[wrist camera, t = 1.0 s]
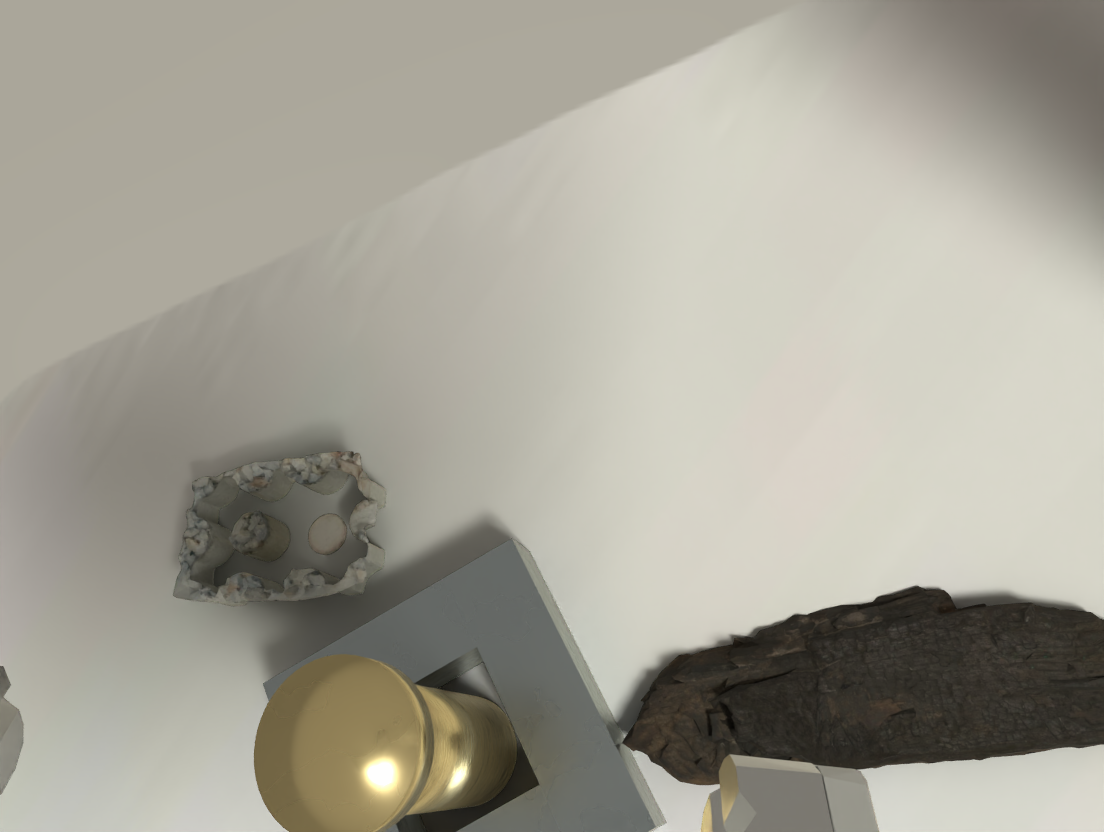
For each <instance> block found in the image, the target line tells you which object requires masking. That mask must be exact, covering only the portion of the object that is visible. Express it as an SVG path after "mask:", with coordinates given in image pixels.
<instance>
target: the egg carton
mask: <svg viewBox="0 0 1104 832" xmlns="http://www.w3.org/2000/svg"><path fill="white" fill-rule="evenodd" d="M349 474H351V475H353V476H354V477H355V478H356V480H357V484H358V489H359V490H360V491H361V493H362V494H363V495H364V496H365V497H366V498H367V499H364V500H362V501H361V502H360V503H358V504H357V505H356V506H355V508H354V510H353V511H352V514H351V516H350V520H349V526H350V529H351V532H352V534H353V535H354V537H356V538H357V539H359V540H360V541H362V542H364V543H366V544H367V546H368V550H367V554H366V556H365V558H362V557H360V558H359V559H358V560H357V561H355V562H352V563H351V564H350V565H349V566H348V568H347V572H346V573H345V574H344V577H343V578H342V580H341V581H340V580H339V579H338V578H336V577H334V576H331V575H329V574H326V573H324V572H321V571H319V570H316V569H313V568H307V569H301V570H297V569H292V570H291V571H290V574H289V575H288V576H287V577H286V578H285V579H284V581H283V584H284V589H283V587H282V586H281V585H280V584H279V583H277V582H274V581H271V580H267V579H264V578H261V577H258V576H256V575H253V574H250V573H246V572H239V573H237V574H234V575H232V576H231V577H228V578H227V581H226V583H225V585H222V586H219V587H217V586H214V584H213V581H214V573H215V569H216V567H218V566H220V565H222V564H224V563H225V562H226V561H227V560H228V559H229V558H230V557H231V555H232V554H233V551H234V549H235V550H236V551H238V552H240V553H242V554H244V555H248V556H250V557H253V558H256V559H259V560H262V561H267V562H269V561H274V560H276V559H278V558H279V557H280V556H281V555H282V554H283V553H284V552H285V551H286V550H287V548H288V546H289V542H290V533H289V529H288V527H287V526H286V525H285V524H284V523H282V522H280V521H278V520H276V519H274V518H272V517H270V516H268V515H265V514H263V513H262V512H261V511H255V512H248V513H245V514H243V515H242V516H241V517H240V518H239V519H238V521H237V522H236V523H235V525H234V528H233V531H232V532H231V531H230V530H229V529H227V528H225V527H223V526H220V525H218V520H219V510H220V509H222V508H224V507H225V506H227V505H229V504H230V503H232V502H233V501H234V500H235V498H236V496H237V495H238V492H239V489H242V490H244V491H246V492H248V493H250V494H252V495H254V496H256V497H258V498H261V499H263V500H265V501H270V502H273V501H278V500H280V499H282V498H283V497H285V496H286V495H287V494H288V492H289V491H290V489H291V487H292V484H293V483H294V482H297V483H299V484H302V485H304V486H306V487H308V488H310V489H311V490H313V491H316V492H318V493H321V494H323V495H329V494H333V493H335V492H337V491H339V490H340V489H341V488H342V487H343V486H344V484H345V483H346V481H347V479H348V476H349ZM192 489H193V491H194V493H195V497H194V503H193V506H192V508H191V509H188V510H187V512H186V517H187V529H186V531H185V532H184V535H183V546H182V549H181V552H180V555H179V557H178V558H179V560H180V565H181V571H180V573H179V575H178V577H177V580H176V584H175V588H174V593H173V596H175V597H176V598H181V599H187V600H193V601H204V602H214V603H221V604H225V605H230V606H242V605H246V604H247V602H248V601H300V600H306V599H311V598H317V597H323V596H329V595H332V594H335V593H338V592H339V593H342V594H344V595H359V594H362V593H363V592H364V589H365V585H366V583H367V581H368V579H369V578H370V576H371V575H373V574H374V573H375V572H377V571H379V570H381V569H382V568H383V567H384V558H385V551H384V549H381V548H378V547H377V546H375V545H373V544H371V543H369V541H368V537H367V536H366V529H369V528H371V527H373V526H375V522H376V515H377V510H379V509H381V508H383V507H385V504H386V489H384V488H383V487H381V486H380V485H378V484H377V483H375V482H373V481H371V480H370V479H368V476H367V474H366V473H365V472H364V471H363V470H362V466H361V456H360V454H359V453H356V454H353V452H350V451H348V452H330V453H318V454H312V455H307V456H306V458H286V459H283V460H279V461H269V462H254V463H251V464H248V465H245V466H241V467H239V468H236V469H234V470H232V471H228V472H224V473H222V474H221V475H219V476H217V477H209V476H207V477H202V478H199V479H198V480H195V481H194V482H193V484H192ZM346 535H347V528H346V525H345V523H344V521H343V519H342V518H341V517H339V516H338V515H336V514H327V515H323V516H320V517H319V518H318V519H317V520H315V521H314V523H313V524H312V526H311V528H310V530H309V533H308V540H309V544H310V546H311V548H312V549H313V550H314V551H315V552H317V553H320V554H323V555H328V554H331V553H333V552H335V551H337V550H338V549H339V548H340V547H341V546H342V544H343V543H344V541H345V539H346Z"/></svg>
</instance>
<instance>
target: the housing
mask: <svg viewBox="0 0 1104 832" xmlns="http://www.w3.org/2000/svg"><path fill="white" fill-rule="evenodd" d="M338 654H349V655H357V656H361V657H366V658H370V659H374V660H378V661H382V662H385V663H387V664H390V665H392V666H394V667H395V668H397V669H399V670H400V671H402V672H403V673H404V674H405V675H406V676H408V677H409V678H410V679H411V681H412V682H413V683H414V684H415V685H420V686H425V687H431V688H436V689H437V688H438V687H440V686H442V685H444V684H445V683H447V682H449V681H451V680H452V679H454V678H456V677H458V676H459V675H461V674H463V673H465V672H466V671H468V670H470V669H471V668H473V667H475V666H477V665H478V664H480V663H482V662H484V664H485V666H486V668H487V670H488V672H489V675H490V677H491V679H492V681H493V683H494V686H495V688H496V690H497V692H498V694H499V697H500V699H501V701H502V703H503V705H504V707H505V710H506V712H507V714H508V716H509V718H510V721H511V723H512V725H513V727H514V729H515V732H516V734H517V736H518V738H519V740H520V743H521V745H522V747H523V749H524V751H525V754H526V756H527V758H528V760H529V762H530V765H531V767H532V769H533V771H534V773H535V776H536V778H537V780H538V782H539V784H540V785H538V786H536V787H534V788H533V789H531V790H529V791H527V792H525V793H524V794H522V795H520V796H518V797H517V798H515V799H513V800H511V801H510V802H508V803H506V804H504V805H502V806H501V807H499V808H497V809H495V810H494V811H492V812H490V813H488V814H487V815H485V816H483V817H481V818H479V819H478V820H476V821H474V822H472V823H471V824H469V825H467V826H465V827H464V828H462V829H460V830H458V831H456V832H651V831H653V830H655V829H656V828H658V827H660V826H662V825H663V824H665V823H667V822H666V820H665V818H664V816H663V814H662V812H661V810H660V809H659V807H658V805H657V803H656V801H655V799H654V797H653V795H652V793H651V791H650V789H649V787H648V785H647V783H646V781H645V779H644V777H643V775H642V773H641V771H640V769H639V767H638V765H637V763H636V761H635V759H634V757H633V755H632V753H631V751H630V749H629V748H628V747H627V746H625V745H624V744H622V742H623V740H624V737H623V735H622V733H621V731H620V729H619V727H618V725H617V723H616V721H615V719H614V717H613V715H612V713H611V711H610V710H609V708H608V706H607V704H606V702H605V700H604V698H603V696H602V694H601V692H600V690H599V688H598V686H597V684H596V682H595V680H594V678H593V676H592V674H591V672H590V670H589V668H588V666H587V664H586V662H585V660H584V658H583V656H582V654H581V652H580V650H579V648H578V646H577V644H576V642H575V640H574V638H573V636H572V634H571V632H570V630H569V628H568V626H567V624H566V622H565V620H564V618H563V616H562V614H561V612H560V611H559V609H558V607H557V605H556V603H555V601H554V599H553V597H552V595H551V593H550V591H549V589H548V587H547V585H546V583H545V581H544V579H543V577H542V575H541V573H540V571H539V569H538V567H537V565H536V563H535V561H534V559H533V557H532V555H531V553H530V551H529V550H527V549H526V548H525V547H523V546H522V545H520V544H519V543H518V542H516V541H515V540H514V539H512V538H511V539H510V540H508V541H506V542H505V543H503V544H501V545H499V546H498V547H496V548H494V549H493V550H491V551H489V552H487V553H486V554H484V555H482V556H481V557H479V558H477V559H475V560H474V561H472V562H470V563H469V564H467V565H465V566H463V567H462V568H460V569H458V570H457V571H455V572H453V573H451V574H450V575H448V576H446V577H445V578H443V579H441V580H439V581H438V582H436V583H434V584H433V585H431V586H429V587H427V588H426V589H424V590H422V591H421V592H419V593H417V594H415V595H414V596H412V597H410V598H409V599H407V600H405V601H403V602H402V603H400V604H398V605H397V606H395V607H393V608H391V609H390V610H388V611H386V612H385V613H383V614H381V615H379V616H378V617H376V618H374V619H373V620H371V621H369V622H367V623H366V624H364V625H362V626H361V627H359V628H357V629H355V630H354V631H352V632H350V633H349V634H347V635H345V636H343V637H342V638H340V639H338V640H337V641H335V642H333V643H331V644H330V645H328V646H326V647H325V648H323V649H321V650H319V651H318V652H316V653H314V654H313V655H311V656H309V657H308V658H306V659H304V660H302V661H301V662H299V663H297V664H296V665H294V666H292V667H290V668H289V669H287V670H285V671H284V672H282V673H280V674H278V675H277V676H275V677H273V678H272V679H270V680H268V681H266V682H265V683H263V685H264V688H265V691H266V694H267V697H268V700H269V701H270V699H271V697H272V696H273V695H274V693H275V692H276V690H277V689H278V688H279V686H280V685H281V684H282V683H283V682H284V681H285V680H286V679H287V678H288V677H289V676H290V675H291V674H293V673H294V672H295V671H296V670H298V669H299V668H301V667H302V666H304V665H306V664H308V663H310V662H312V661H314V660H316V659H319V658H322V657H325V656H330V655H338ZM384 832H426V829H425V827H424V824H423V822H422V819H421V817H420V814H412V815H405V816H404V817H403V818H402V819H401V820H400V821H399V822H397V823H396V824H395V825H394V826H392V827H391V828H389V829H388V830H386V831H384Z"/></svg>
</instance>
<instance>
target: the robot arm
mask: <svg viewBox="0 0 1104 832" xmlns="http://www.w3.org/2000/svg"><path fill="white" fill-rule="evenodd" d="M10 685H11V684H10V682H9V679H8V677H7V674H6V672H5V670H4V667H3V666H0V795H1V794H2V792H3V791H4V789H5V787H6V785H7V783H8V781H9V780H10V778H11V776H12V774H13V772H14V771H15V768H16V765H17V762H18V758H19V755H20V752H21V748H22V745H23V721H22V717H21V714H20V711H19V709H17V708H16V707H15V706H14V705H12V704H11V703H10V702H9V701H7V700H6V699H5V698H4V695H5V694H6V692H7V690H8V689H9V687H10ZM719 780H720V789H718V790H716V791H714V792H712V793H710V794H709V797H708V800H707V803H706V806H705V809H704V812H703V819H702V826H701V832H879V828H878V824H877V820H876V816H875V812H874V808H873V804H872V800H871V796H870V792H869V788H868V784H867V780H866V779H865V778H864V776H863V775H862V773H861V772H860V771H858V770H856V769H850V768H840V767H831V766H821V765H813V764H812V763H807V762H797V761H788V760H778V759H769V758H759V757H750V756H740V755H731V754H730V755H728V756H727V757H726V758H724V760H723V763H722V765H721V767H720V770H719Z"/></svg>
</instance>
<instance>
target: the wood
mask: <svg viewBox="0 0 1104 832" xmlns="http://www.w3.org/2000/svg"><path fill="white" fill-rule="evenodd" d="M641 701H643V702H644V704H643V706H642V709H641V711H640V713H639V716H638V718H637V721H636V723H635V724H634V726H633V727H632V728H631V730H630V731H629V733H628V734H627V736H626V737H625V739H624V740H623V742H622V744H624V745H625V746H627V747H628V748H630V749H631V750H632V751H635V750H638V751H641V752H643V753H645V754H647V755H648V756H649V758H650V760H651V762H653V763H655V764H657V765H659V766H661V767H663V768H664V769H665V770H666V771H667V772H668V773H669V774H670V775H672V776H673V777H674V778H676V779H677V780H678V781H680V782H685V783H690V784H696V785H714V784H720V780H719V770H720V767H721V765H722V763H723V760H724V758H726V757H727V756H728V755H730V754H731V755H740V756H750V757H759V758H769V759H778V760H788V761H797V762H807V763H812V764H813V765H821V766H831V767H840V768H850V769H856V770H857V769H867V768H878V767H882V766H885V765H897V764H910V763H936V762H942V761H956V760H972V759H975V760H983V759H986V758H990V757H1002V756H1014V755H1025V754H1029V753H1035V752H1041V751H1047V750H1051V749H1056V748H1064V747H1075V748H1084V747H1089V746H1095V745H1100V744H1104V620H1102V619H1099V618H1098V617H1097V616H1096V615H1094V614H1093V613H1091V612H1082V611H1074V610H1059V609H1056V608H1046V607H1041V606H1036V605H1033V604H1032V603H1016V604H1004V605H993V606H986V605H985V604H980V605H975V606H971V607H966V608H961V609H956V608H955V606H954V604H953V601H952V599H951V597H950V595H949V594H948V593H947V592H946V591H944V590H926V589H923V588H921V587H919V586H917V587H915V588H912V589H909V590H906V591H903V592H900V593H897V594H894V595H888V596H881V597H878V598H877V599H876V600H875V601H874V602H872V603H867V604H862V605H841V606H837V607H833V608H829V609H825V610H822V611H818V612H814V613H810V614H808V615H793V616H792V617H790V618H789V619H788V620H787V621H786V622H783V623H781V624H779V625H777V626H774V627H771V628H768V629H764V630H761V631H759V633H758V634H757V635H756V636H755V638H751V637H744V638H734V642H733V645H728V646H723V647H717V648H713V649H709V650H705V651H701V652H699V653H696V654H694V655H690V654H685V655H679V656H678V657H677V658H676V659H675V660H674V661H672V662H671V663H670V664H669V665H668V666H667V667H666V668H665V669H664V670H663V671H662V672H661V673H660V674H659V676H658V677H657V678H656V680H655V681H654V682H653V684H652V686H651V687H650V690H649V692H648V693H647V694H646V695H645V696H644V698H643V699H642V700H641Z"/></svg>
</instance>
